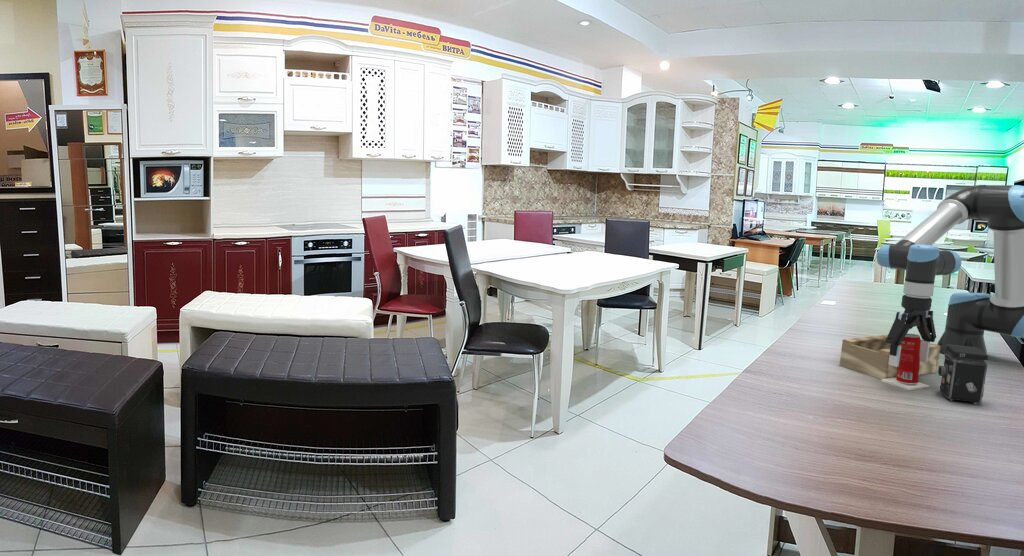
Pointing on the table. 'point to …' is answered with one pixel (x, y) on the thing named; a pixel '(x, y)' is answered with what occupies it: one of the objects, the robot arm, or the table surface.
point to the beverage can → (909, 360)
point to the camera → (963, 373)
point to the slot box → (879, 357)
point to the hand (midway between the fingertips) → (907, 363)
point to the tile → (904, 386)
